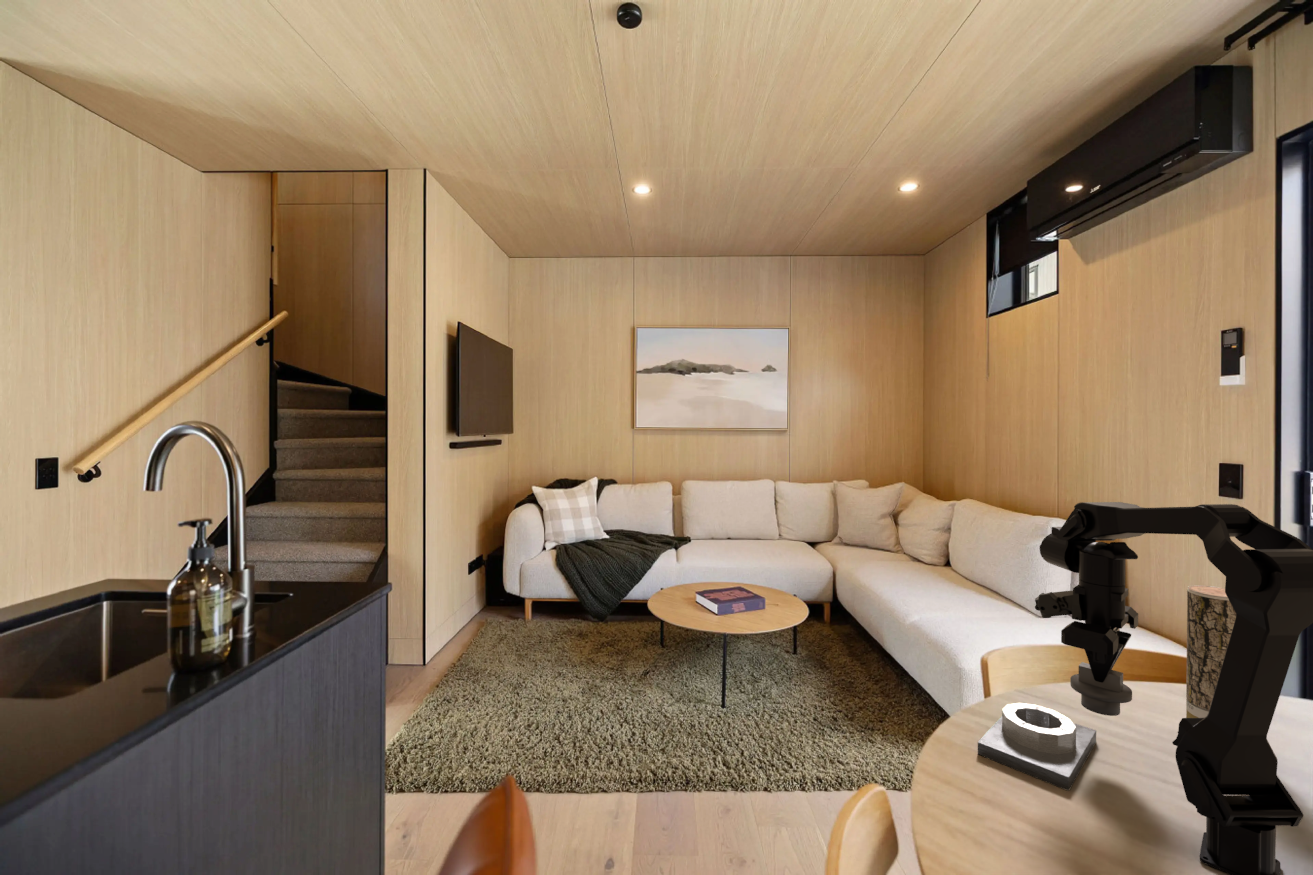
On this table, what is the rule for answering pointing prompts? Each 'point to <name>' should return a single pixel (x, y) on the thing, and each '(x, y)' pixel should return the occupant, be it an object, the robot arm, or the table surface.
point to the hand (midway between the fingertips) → (1100, 678)
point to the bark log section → (1206, 644)
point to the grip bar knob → (1101, 691)
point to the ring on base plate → (1038, 743)
